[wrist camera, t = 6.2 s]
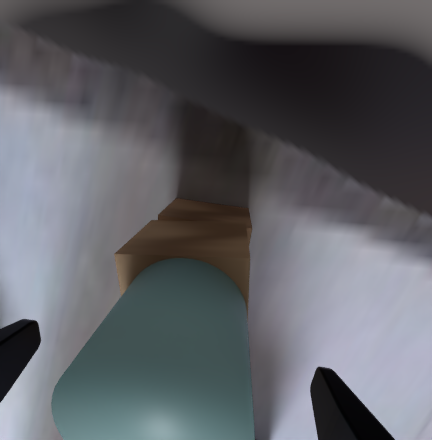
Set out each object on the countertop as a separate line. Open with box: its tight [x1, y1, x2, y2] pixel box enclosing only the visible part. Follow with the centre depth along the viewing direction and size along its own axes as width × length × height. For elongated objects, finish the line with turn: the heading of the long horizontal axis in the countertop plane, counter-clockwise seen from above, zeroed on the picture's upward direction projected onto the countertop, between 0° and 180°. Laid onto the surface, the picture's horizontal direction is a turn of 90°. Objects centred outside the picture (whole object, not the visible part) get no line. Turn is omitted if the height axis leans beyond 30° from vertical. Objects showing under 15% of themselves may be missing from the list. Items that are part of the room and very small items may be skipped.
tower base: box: [158, 198, 252, 245], centre depth 15 cm, size 5×5×4 cm
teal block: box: [51, 258, 255, 440], centre depth 7 cm, size 5×5×4 cm
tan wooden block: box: [114, 220, 250, 322], centre depth 11 cm, size 5×5×4 cm
